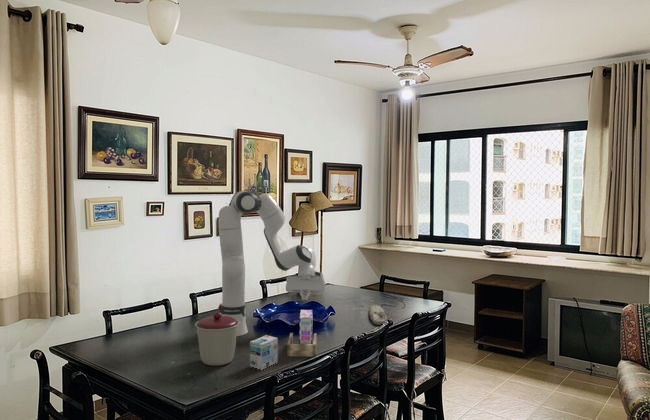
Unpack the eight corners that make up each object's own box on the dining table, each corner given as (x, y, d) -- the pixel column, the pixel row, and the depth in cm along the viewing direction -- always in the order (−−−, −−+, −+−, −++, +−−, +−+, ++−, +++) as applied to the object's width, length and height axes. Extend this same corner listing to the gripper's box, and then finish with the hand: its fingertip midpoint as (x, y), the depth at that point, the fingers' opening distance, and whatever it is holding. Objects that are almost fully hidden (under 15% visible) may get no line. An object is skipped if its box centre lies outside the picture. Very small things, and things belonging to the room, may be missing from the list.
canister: (198, 372, 189) (198, 320, 187) (192, 357, 205) (192, 308, 204) (243, 366, 196) (244, 315, 195) (234, 351, 212) (234, 305, 211)
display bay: (287, 356, 208) (287, 344, 207) (290, 343, 224) (290, 332, 224) (315, 356, 208) (315, 345, 207) (316, 343, 224) (316, 333, 224)
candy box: (311, 354, 210) (312, 317, 210) (298, 354, 210) (298, 317, 210) (312, 343, 224) (312, 309, 223) (299, 343, 224) (300, 309, 223)
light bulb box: (261, 371, 191) (262, 344, 191) (249, 367, 195) (249, 341, 194) (278, 362, 200) (278, 337, 200) (265, 359, 204) (265, 334, 203)
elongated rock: (383, 311, 288) (367, 312, 288) (383, 303, 288) (366, 303, 288) (390, 325, 253) (371, 326, 253) (390, 315, 253) (371, 316, 253)
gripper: (286, 271, 246) (283, 294, 237) (325, 273, 246) (324, 296, 236) (286, 278, 251) (284, 301, 241) (325, 280, 250) (324, 303, 241)
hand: (304, 299), depth 239 cm, fingers closed
